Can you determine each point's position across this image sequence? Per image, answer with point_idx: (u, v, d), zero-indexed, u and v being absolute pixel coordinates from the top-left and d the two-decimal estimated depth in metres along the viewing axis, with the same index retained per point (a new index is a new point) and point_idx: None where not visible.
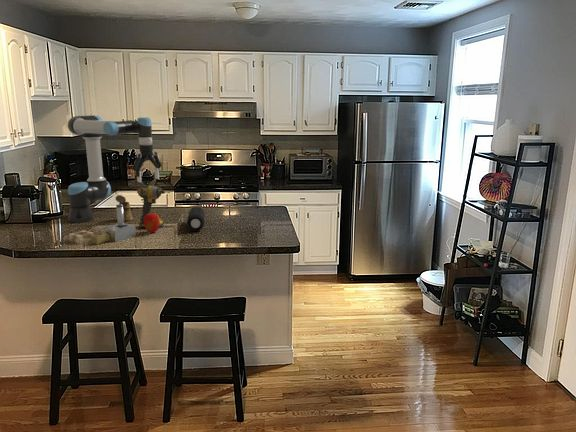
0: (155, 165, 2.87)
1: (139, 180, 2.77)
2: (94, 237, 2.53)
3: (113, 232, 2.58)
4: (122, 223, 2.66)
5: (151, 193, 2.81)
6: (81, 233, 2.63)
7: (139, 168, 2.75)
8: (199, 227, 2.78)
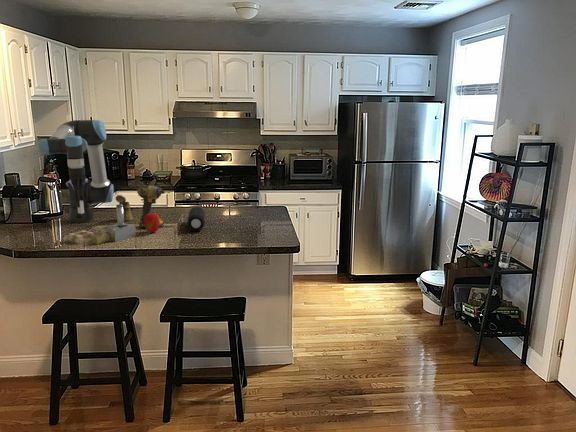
0: (80, 195, 2.43)
1: (80, 211, 2.43)
2: (94, 237, 2.53)
3: (113, 232, 2.58)
4: (122, 223, 2.66)
5: (151, 193, 2.81)
6: (81, 233, 2.63)
7: (78, 198, 2.41)
8: (199, 227, 2.78)
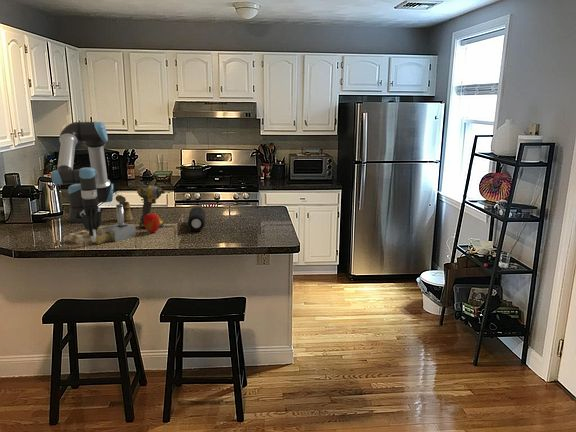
0: (93, 224, 2.52)
1: (93, 239, 2.52)
2: None
3: (113, 232, 2.58)
4: (122, 223, 2.66)
5: (151, 193, 2.81)
6: (81, 233, 2.63)
7: (91, 227, 2.50)
8: (200, 227, 2.78)
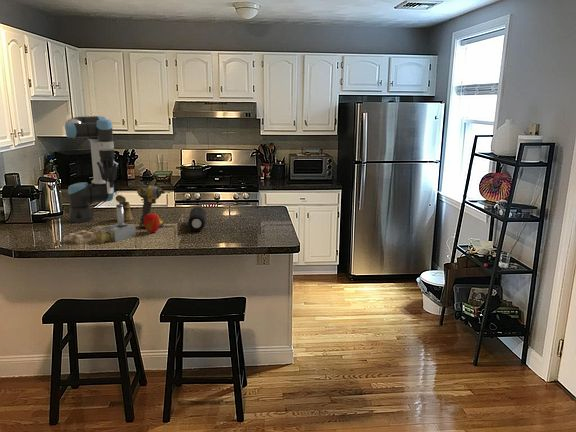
0: None
1: None
2: (99, 236, 2.55)
3: (113, 232, 2.58)
4: (122, 223, 2.66)
5: (151, 193, 2.81)
6: (81, 233, 2.63)
7: (105, 178, 2.56)
8: (200, 227, 2.78)
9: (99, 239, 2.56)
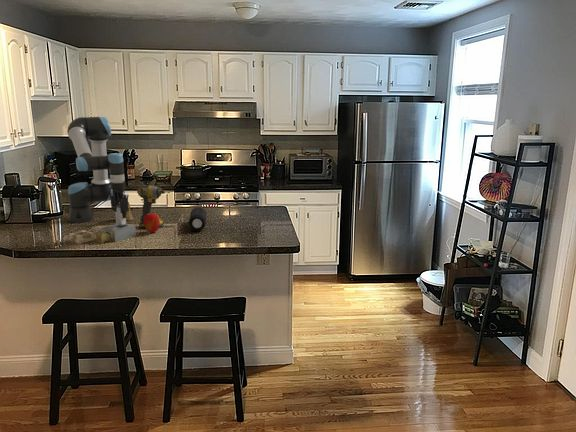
0: None
1: None
2: (99, 236, 2.55)
3: (113, 232, 2.58)
4: None
5: (151, 193, 2.81)
6: (81, 233, 2.63)
7: (114, 208, 2.66)
8: (201, 227, 2.78)
9: (99, 239, 2.56)
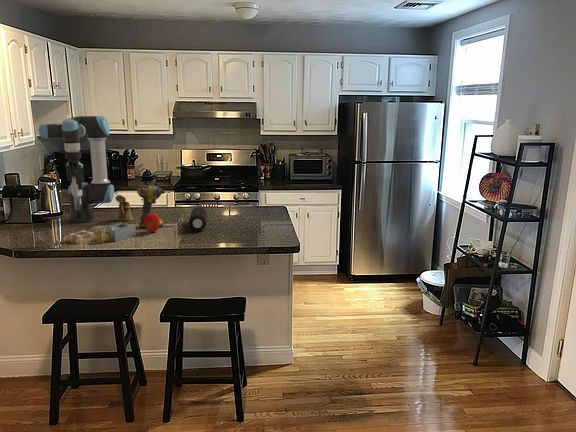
0: None
1: None
2: (99, 236, 2.55)
3: (113, 232, 2.58)
4: None
5: (151, 193, 2.81)
6: (81, 233, 2.63)
7: (70, 179, 2.53)
8: (201, 227, 2.78)
9: (99, 239, 2.56)
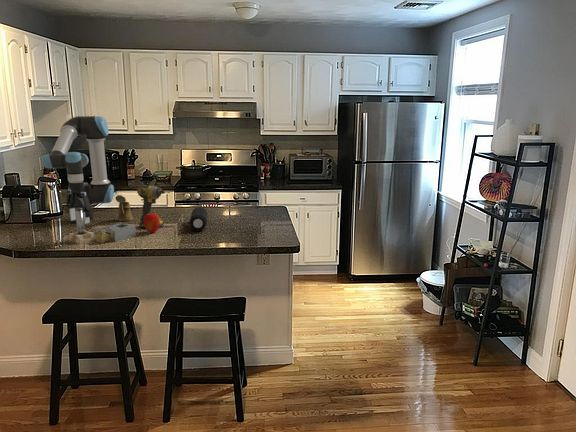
0: None
1: None
2: (99, 236, 2.55)
3: (113, 232, 2.58)
4: (81, 227, 2.58)
5: (151, 193, 2.81)
6: None
7: (69, 205, 2.59)
8: (201, 227, 2.78)
9: (99, 239, 2.56)
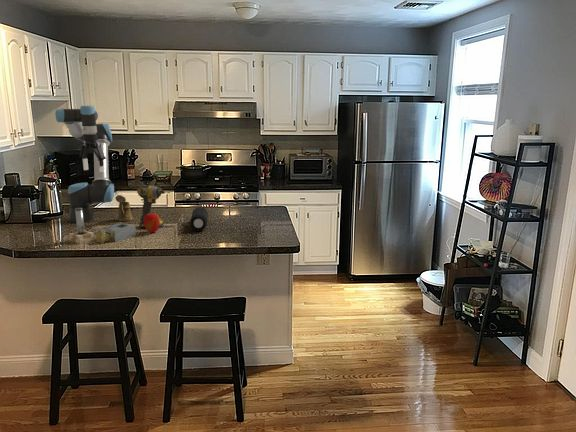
0: None
1: None
2: (99, 236, 2.55)
3: (113, 232, 2.58)
4: (81, 227, 2.58)
5: (151, 193, 2.81)
6: None
7: (82, 156, 2.76)
8: (202, 227, 2.78)
9: (99, 239, 2.56)
